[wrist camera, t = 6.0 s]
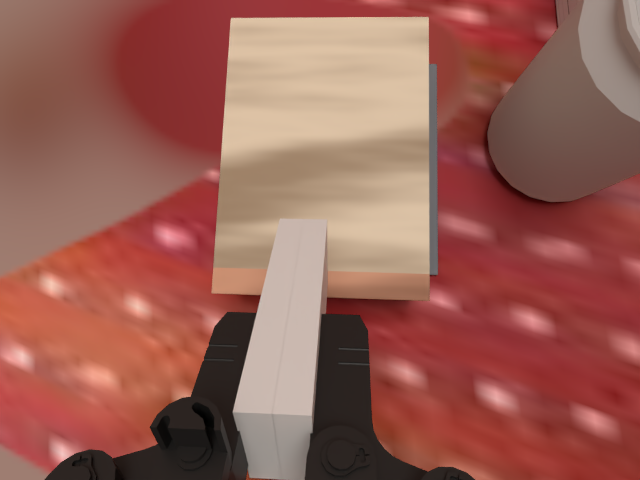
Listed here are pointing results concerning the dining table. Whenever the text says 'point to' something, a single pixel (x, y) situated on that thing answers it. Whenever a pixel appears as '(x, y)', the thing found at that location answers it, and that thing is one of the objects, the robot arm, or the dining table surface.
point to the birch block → (327, 151)
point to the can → (574, 107)
